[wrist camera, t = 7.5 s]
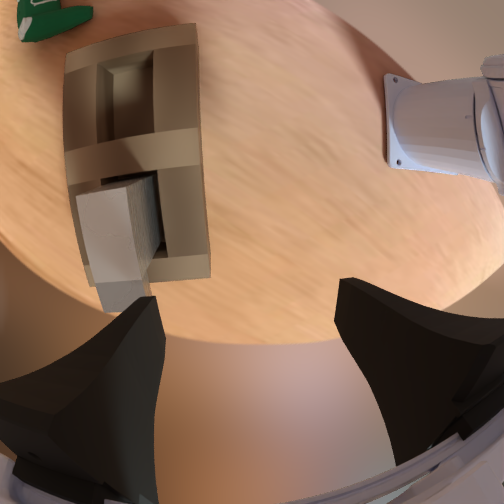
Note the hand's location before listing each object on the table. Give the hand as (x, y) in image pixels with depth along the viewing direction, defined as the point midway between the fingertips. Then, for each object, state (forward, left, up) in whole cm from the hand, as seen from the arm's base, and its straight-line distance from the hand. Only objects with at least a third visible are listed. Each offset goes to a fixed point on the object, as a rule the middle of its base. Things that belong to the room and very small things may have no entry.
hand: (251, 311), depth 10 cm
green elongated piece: (+14, -22, -10) cm, 28 cm away
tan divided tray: (+6, -6, -10) cm, 13 cm away
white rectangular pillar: (+6, -3, -9) cm, 11 cm away
